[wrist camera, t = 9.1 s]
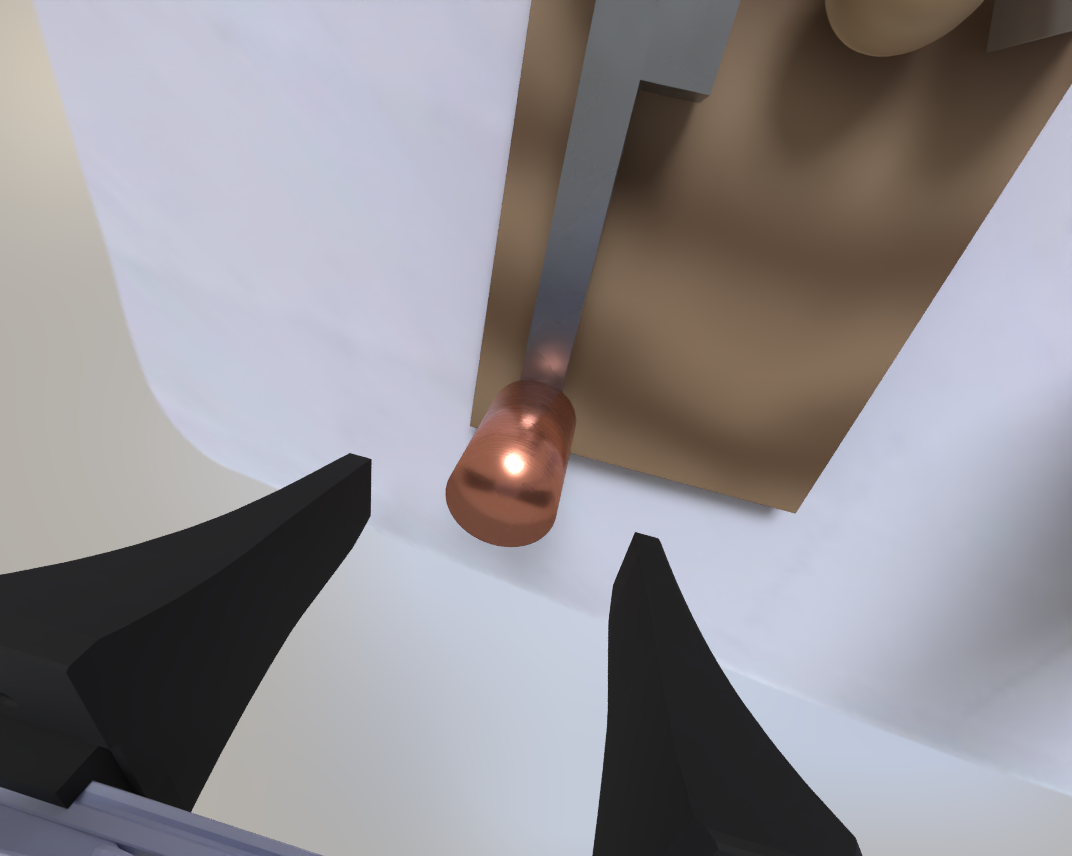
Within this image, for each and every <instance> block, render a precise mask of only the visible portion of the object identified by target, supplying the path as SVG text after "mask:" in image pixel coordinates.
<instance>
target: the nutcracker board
mask: <svg viewBox="0 0 1072 856" xmlns="http://www.w3.org/2000/svg"><path fill="white" fill-rule="evenodd" d="M595 3H596V0H532V2H531V9H530V16H529V23H528V29H527V36H526V43H525V50H524V57H523V64H522V71H521V78H520V85H519V91H518V98H517V105H516V112H515V119H514V126H513V133H512V140H511V147H510V154H509V160H508V167H507V174H506V181H505V188H504V195H503V202H502V209H501V216H500V223H499V229H498V236H497V243H496V250H495V257H494V264H493V271H492V278H491V285H490V292H489V298H488V305H487V312H486V319H485V326H484V333H483V340H482V347H481V354H480V360H479V367H478V374H477V381H476V388H475V395H474V402H473V409H472V416H471V423H470V426H472V427H475V428H478V427H479V425H480V423H481V422H482V420H483V418H484V416H485V415H486V413H487V411H488V409H489V408H490V406H491V404H492V402H493V401H494V399H495V397H496V396H497V394H498V393H499V392H500V391H501V390H502V389H503V388H504V387H505V386H507V385H508V384H511V383H513V382H515V381H519V380H520V378H521V373H522V368H523V363H524V358H525V353H526V348H527V343H528V338H529V333H530V328H531V323H532V318H533V313H534V308H535V303H536V298H537V293H538V288H539V283H540V278H541V273H542V268H543V263H544V258H545V253H546V248H547V243H548V238H549V233H550V228H551V223H552V218H553V213H554V208H555V203H556V198H557V193H558V188H559V183H560V178H561V173H562V168H563V163H564V158H565V153H566V148H567V143H568V138H569V133H570V128H571V123H572V118H573V113H574V108H575V103H576V98H577V93H578V88H579V83H580V78H581V73H582V68H583V63H584V58H585V53H586V48H587V43H588V38H589V33H590V28H591V23H592V18H593V13H594V8H595ZM1071 84H1072V0H984V1H983V2H982V3H981V5H980V6H979V7H978V8H977V9H976V10H975V11H974V12H973V13H972V14H971V15H970V16H968V17H967V18H966V19H965V20H964V21H963V22H961V23H960V24H959V25H958V26H957V27H955V28H954V29H953V30H951V31H950V32H948V33H947V34H946V35H944V36H943V37H941V38H939V39H937V40H936V41H934V42H932V43H930V44H928V45H926V46H924V47H922V48H919V49H917V50H915V51H911V52H908V53H905V54H900V55H894V56H887V57H877V56H869V55H865V54H862V53H859V52H856V51H855V50H853V49H851V48H849V47H848V46H846V45H845V44H844V43H843V42H842V41H841V40H840V39H839V38H838V37H837V35H836V34H835V32H834V31H833V29H832V27H831V25H830V22H829V20H828V16H827V12H826V7H825V0H740V3H739V6H738V10H737V13H736V16H735V19H734V22H733V25H732V28H731V31H730V34H729V38H728V41H727V44H726V47H725V50H724V53H723V56H722V59H721V62H720V66H719V69H718V72H717V75H716V78H715V81H714V84H713V87H712V91H711V94H710V96H708V97H707V98H706V99H704V100H703V101H702V102H700V103H696V102H691V101H687V100H682V99H678V98H674V97H669V96H665V95H660V94H656V93H651V92H647V91H643V90H640V91H639V95H638V99H637V102H636V106H635V110H634V114H633V118H632V122H631V126H630V130H629V134H628V138H627V142H626V145H625V149H624V153H623V157H622V161H621V165H620V169H619V173H618V177H617V181H616V185H615V189H614V192H613V196H612V200H611V204H610V208H609V212H608V216H607V220H606V224H605V228H604V232H603V235H602V239H601V243H600V247H599V251H598V255H597V259H596V263H595V267H594V271H593V275H592V278H591V282H590V286H589V290H588V294H587V298H586V302H585V306H584V310H583V314H582V318H581V322H580V325H579V329H578V333H577V337H576V341H575V345H574V349H573V353H572V357H571V361H570V365H569V368H568V372H567V376H566V380H565V384H564V388H563V393H564V394H565V395H566V396H567V397H568V399H569V400H570V402H571V403H572V405H573V408H574V410H575V414H576V428H575V433H574V437H573V442H572V446H571V451H570V453H572V454H576V455H580V456H583V457H587V458H591V459H595V460H598V461H602V462H606V463H609V464H613V465H617V466H621V467H624V468H628V469H632V470H635V471H639V472H643V473H647V474H650V475H654V476H658V477H661V478H665V479H669V480H673V481H676V482H680V483H684V484H688V485H691V486H695V487H699V488H702V489H706V490H710V491H714V492H717V493H721V494H725V495H728V496H732V497H736V498H740V499H743V500H747V501H751V502H754V503H758V504H762V505H766V506H769V507H773V508H777V509H781V510H784V511H788V512H792V513H796V512H797V510H798V509H799V507H800V506H801V504H802V503H803V501H804V499H805V498H806V496H807V495H808V493H809V492H810V490H811V489H812V487H813V485H814V484H815V482H816V481H817V479H818V478H819V476H820V475H821V473H822V471H823V470H824V468H825V467H826V465H827V464H828V462H829V461H830V459H831V457H832V456H833V454H834V453H835V451H836V450H837V448H838V447H839V445H840V443H841V442H842V440H843V439H844V437H845V436H846V434H847V433H848V431H849V429H850V428H851V426H852V425H853V423H854V422H855V420H856V419H857V417H858V415H859V414H860V412H861V411H862V409H863V408H864V406H865V405H866V403H867V401H868V400H869V398H870V397H871V395H872V394H873V392H874V391H875V389H876V387H877V386H878V384H879V383H880V381H881V380H882V378H883V377H884V375H885V373H886V372H887V370H888V369H889V367H890V366H891V364H892V363H893V361H894V359H895V358H896V356H897V355H898V353H899V352H900V350H901V349H902V347H903V345H904V344H905V342H906V341H907V339H908V338H909V336H910V335H911V333H912V331H913V330H914V328H915V327H916V325H917V324H918V322H919V321H920V319H921V317H922V316H923V314H924V313H925V311H926V310H927V308H928V307H929V305H930V303H931V302H932V300H933V299H934V297H935V296H936V294H937V293H938V291H939V289H940V288H941V286H942V285H943V283H944V282H945V280H946V279H947V277H948V275H949V274H950V272H951V271H952V269H953V268H954V266H955V265H956V263H957V261H958V260H959V258H960V257H961V255H962V254H963V252H964V251H965V249H966V247H967V246H968V244H969V243H970V241H971V240H972V238H973V237H974V235H975V233H976V232H977V230H978V229H979V227H980V226H981V224H982V223H983V221H984V219H985V218H986V216H987V215H988V213H989V212H990V210H991V209H992V207H993V205H994V204H995V202H996V201H997V199H998V198H999V196H1000V194H1001V193H1002V191H1003V190H1004V188H1005V187H1006V185H1007V184H1008V182H1009V180H1010V179H1011V177H1012V176H1013V174H1014V173H1015V171H1016V170H1017V168H1018V166H1019V165H1020V163H1021V162H1022V160H1023V159H1024V157H1025V156H1026V154H1027V152H1028V151H1029V149H1030V148H1031V146H1032V145H1033V143H1034V142H1035V140H1036V138H1037V137H1038V135H1039V134H1040V132H1041V131H1042V129H1043V128H1044V126H1045V124H1046V123H1047V121H1048V120H1049V118H1050V117H1051V115H1052V114H1053V112H1054V110H1055V109H1056V107H1057V106H1058V104H1059V103H1060V101H1061V100H1062V98H1063V96H1064V95H1065V93H1066V92H1067V90H1068V89H1069V87H1070V86H1071Z"/></svg>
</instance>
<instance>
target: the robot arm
mask: <svg viewBox="0 0 1072 856" xmlns="http://www.w3.org/2000/svg"><path fill="white" fill-rule="evenodd" d="M370 516H371V459H369V458H366V457H362V456H358V455H355V454H351V453H349V454H347V455H345V456H343V457H341V458H339V459H338V460H336V461H334V462H332V463H330V464H328V465H326V466H324V467H323V468H321V469H319V470H317V471H315V472H313V473H311V474H309V475H307V476H305V477H304V478H302V479H300V480H298V481H296V482H294V483H292V484H290V485H288V486H286V487H284V488H282V489H280V490H278V491H276V492H274V493H272V494H270V495H267V496H265V497H263V498H261V499H259V500H256V501H254V502H252V503H250V504H248V505H245V506H243V507H241V508H239V509H237V510H234V511H232V512H229V513H227V514H225V515H222V516H220V517H217V518H214V519H212V520H209V521H206V522H204V523H201V524H198V525H196V526H193V527H190V528H187V529H184V530H181V531H178V532H175V533H172V534H169V535H165V536H162V537H159V538H156V539H153V540H149V541H146V542H143V543H140V544H136V545H133V546H129V547H125V548H122V549H118V550H115V551H111V552H107V553H103V554H99V555H95V556H90V557H86V558H82V559H78V560H73V561H69V562H64V563H59V564H54V565H49V566H44V567H39V568H34V569H29V570H24V571H19V572H14V573H8V574H2V575H0V856H322V855H319V854H316V853H313V852H310V851H307V850H304V849H301V848H298V847H295V846H292V845H289V844H286V843H283V842H280V841H276V840H273V839H270V838H267V837H264V836H261V835H258V834H255V833H252V832H249V831H246V830H243V829H239V828H237V827H234V826H230V825H227V824H224V823H221V822H218V821H215V820H212V819H209V818H206V817H203V816H200V815H197V814H194V813H191V811H192V809H193V807H194V805H195V803H196V801H197V799H198V797H199V795H200V793H201V791H202V789H203V787H204V785H205V783H206V781H207V780H208V778H209V776H210V774H211V772H212V770H213V768H214V766H215V764H216V762H217V760H218V758H219V756H220V754H221V752H222V750H223V749H224V747H225V745H226V743H227V741H228V740H229V738H230V736H231V734H232V732H233V730H234V729H235V727H236V725H237V723H238V721H239V719H240V717H241V716H242V714H243V712H244V710H245V708H246V706H247V705H248V703H249V701H250V700H251V698H252V696H253V695H254V693H255V691H256V689H257V688H258V686H259V684H260V682H261V681H262V679H263V677H264V676H265V674H266V672H267V670H268V668H269V667H270V665H271V664H272V662H273V660H274V658H275V657H276V655H277V654H278V652H279V650H280V649H281V647H282V645H283V644H284V642H285V641H286V639H287V637H288V636H289V634H290V632H291V631H292V629H293V628H294V627H295V625H296V624H297V622H298V621H299V619H300V618H301V616H302V615H303V614H304V612H305V611H306V610H307V608H308V607H309V606H310V604H311V603H312V602H313V600H314V599H315V598H316V596H317V595H318V594H319V592H320V591H321V590H322V588H323V587H324V586H325V584H326V583H327V582H328V580H329V579H330V578H331V576H332V575H333V574H334V572H335V571H336V570H337V568H338V567H339V566H340V564H341V563H342V562H343V560H344V559H345V558H346V556H347V555H348V553H349V552H350V551H351V549H352V548H353V546H354V544H355V543H356V541H357V539H358V538H359V536H360V534H361V532H362V531H363V529H364V527H365V525H366V523H367V521H368V520H369V518H370ZM608 630H609V631H608V715H607V732H606V742H605V752H604V762H603V772H602V781H601V790H600V799H599V807H598V816H597V824H596V833H595V840H594V848H593V856H862V853H861V851H860V848H859V846H858V843H857V840H856V838H855V837H854V836H853V834H852V833H851V832H850V831H849V830H848V829H847V828H846V827H845V826H844V825H843V823H842V822H841V821H840V820H839V819H838V818H837V817H836V816H835V815H834V814H833V812H832V811H831V810H830V809H829V808H828V807H827V806H826V805H825V804H824V803H823V801H821V799H820V798H819V797H818V796H817V795H816V794H815V793H814V792H813V791H812V790H811V788H810V787H809V786H808V785H807V784H806V783H805V781H804V780H803V779H802V778H801V777H800V775H799V774H798V773H797V772H796V771H795V769H794V768H793V767H792V766H791V764H789V762H788V761H787V760H786V759H785V757H784V756H783V755H782V754H781V752H780V751H779V750H778V749H777V747H776V746H775V745H774V743H773V742H772V741H771V740H770V738H769V737H768V736H767V734H766V733H765V732H764V730H763V729H762V727H761V726H760V725H759V723H758V722H757V721H756V719H755V718H754V717H753V715H752V714H751V713H750V711H749V710H748V709H747V707H746V706H745V704H744V703H743V702H742V700H741V699H740V697H739V696H738V694H737V693H736V691H735V690H734V688H733V687H732V685H731V684H730V682H729V680H728V679H727V677H726V676H725V674H724V672H723V671H722V669H721V668H720V666H719V664H718V662H717V661H716V659H715V657H714V656H713V654H712V652H711V650H710V649H709V647H708V645H707V643H706V641H705V639H704V638H703V636H702V634H701V632H700V630H699V628H698V626H697V624H696V622H695V620H694V618H693V616H692V614H691V612H690V610H689V608H688V606H687V604H686V602H685V599H684V597H683V595H682V593H681V591H680V589H679V586H678V584H677V582H676V579H675V577H674V575H673V572H672V570H671V567H670V565H669V562H668V560H667V557H666V555H665V552H664V550H663V547H662V544H661V542H660V540H659V539H658V538H655V537H651V536H648V535H644V534H640V533H637V532H635V534H634V536H633V539H632V541H631V543H630V546H629V548H628V551H627V553H626V555H625V558H624V560H623V562H622V565H621V567H620V570H619V572H618V574H617V577H616V579H615V582H614V584H613V590H612V598H611V605H610V614H609V625H608Z"/></svg>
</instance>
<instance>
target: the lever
mask: <svg viewBox="0 0 1072 856" xmlns="http://www.w3.org/2000/svg"><path fill="white" fill-rule="evenodd" d="M739 3H740V0H596V3H595V8H594V13H593V18H592V23H591V28H590V33H589V38H588V43H587V48H586V53H585V58H584V63H583V68H582V73H581V78H580V83H579V88H578V93H577V98H576V103H575V108H574V113H573V118H572V123H571V128H570V133H569V138H568V143H567V148H566V153H565V158H564V163H563V168H562V173H561V178H560V183H559V188H558V193H557V198H556V203H555V208H554V213H553V218H552V223H551V228H550V233H549V238H548V243H547V248H546V253H545V258H544V263H543V268H542V273H541V278H540V283H539V288H538V293H537V298H536V303H535V308H534V313H533V318H532V323H531V328H530V333H529V338H528V343H527V348H526V353H525V358H524V363H523V368H522V373H521V378H520V380H519V381H515V382H513V383H511V384H508V385H507V386H505V387H504V388H503V389H502V390H501V391H500V392H499V393H498V394H497V396H496V397H495V399H494V401H493V402H492V404H491V406H490V408H489V409H488V411H487V413H486V415H485V416H484V418H483V420H482V422H481V423H480V425H479V427H478V429H477V430H476V432H475V434H474V436H473V437H472V439H471V441H470V443H469V444H468V446H467V448H466V450H465V451H464V453H463V455H462V457H461V458H460V460H459V462H458V464H457V465H456V467H455V469H454V471H453V472H452V474H451V476H450V478H449V480H448V482H447V486H446V501H447V505H448V508H449V510H450V512H451V514H452V516H453V518H454V519H455V520H456V522H457V523H458V524H459V525H460V526H461V527H462V528H463V529H464V530H465V531H467V532H468V533H469V534H471V535H472V536H474V537H476V538H478V539H479V540H482V541H484V542H487V543H490V544H493V545H497V546H504V547H519V546H525V545H528V544H531V543H534V542H536V541H538V540H539V539H541V538H542V537H544V536H545V535H546V534H547V533H548V532H549V531H550V529H551V528H552V526H553V524H554V521H555V518H556V514H557V509H558V505H559V500H560V496H561V491H562V487H563V482H564V478H565V473H566V469H567V464H568V460H569V455H570V451H571V446H572V442H573V437H574V433H575V428H576V414H575V410H574V408H573V405H572V403H571V402H570V400H569V399H568V397H567V396H566V395H565V394H564V393H563V388H564V384H565V380H566V376H567V372H568V368H569V365H570V361H571V357H572V353H573V349H574V345H575V341H576V337H577V333H578V329H579V325H580V322H581V318H582V314H583V310H584V306H585V302H586V298H587V294H588V290H589V286H590V282H591V278H592V275H593V271H594V267H595V263H596V259H597V255H598V251H599V247H600V243H601V239H602V235H603V232H604V228H605V224H606V220H607V216H608V212H609V208H610V204H611V200H612V196H613V192H614V189H615V185H616V181H617V177H618V173H619V169H620V165H621V161H622V157H623V153H624V149H625V145H626V142H627V138H628V134H629V130H630V126H631V122H632V118H633V114H634V110H635V106H636V102H637V99H638V95H639V91H640V90H643V91H647V92H651V93H656V94H660V95H665V96H669V97H674V98H678V99H682V100H687V101H691V102H696V103H700V102H702V101H703V100H704V99H706V98H707V97H708V96H710V94H711V91H712V87H713V84H714V81H715V78H716V75H717V72H718V69H719V66H720V62H721V59H722V56H723V53H724V50H725V47H726V44H727V41H728V38H729V34H730V31H731V28H732V25H733V22H734V19H735V16H736V13H737V10H738V6H739Z"/></svg>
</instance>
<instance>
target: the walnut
mask: <svg viewBox="0 0 1072 856" xmlns="http://www.w3.org/2000/svg"><path fill="white" fill-rule="evenodd" d="M983 1H984V0H825V7H826V12H827V16H828V20H829V22H830V25H831V27H832V29H833V31H834V32H835V34H836V35H837V37H838V38H839V39H840V40H841V41H842V42H843V43H844V44H845V45H846V46H848V47H849V48H851V49H853V50H855V51H856V52H859V53H862V54H865V55H869V56H877V57H887V56H894V55H900V54H905V53H908V52H911V51H915V50H917V49H919V48H922V47H924V46H926V45H928V44H930V43H932V42H934V41H936V40H937V39H939V38H941V37H943V36H944V35H946V34H947V33H948V32H950V31H951V30H953V29H954V28H955V27H957V26H958V25H959V24H960V23H961V22H963V21H964V20H965V19H966V18H967V17H968V16H970V15H971V14H972V13H973V12H974V11H975V10H976V9H977V8H978V7H979V6H980V5H981V3H982V2H983Z"/></svg>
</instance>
